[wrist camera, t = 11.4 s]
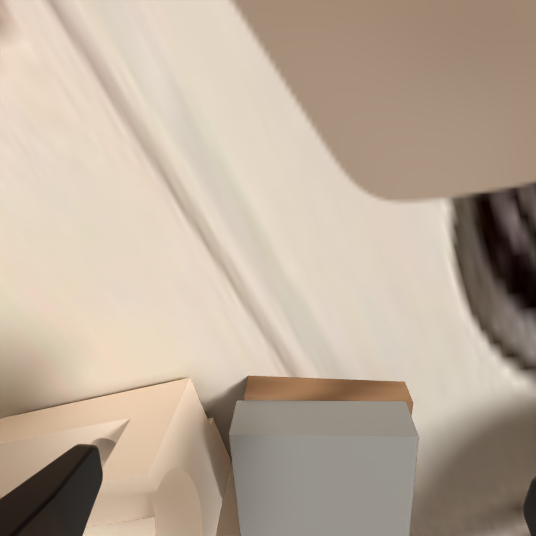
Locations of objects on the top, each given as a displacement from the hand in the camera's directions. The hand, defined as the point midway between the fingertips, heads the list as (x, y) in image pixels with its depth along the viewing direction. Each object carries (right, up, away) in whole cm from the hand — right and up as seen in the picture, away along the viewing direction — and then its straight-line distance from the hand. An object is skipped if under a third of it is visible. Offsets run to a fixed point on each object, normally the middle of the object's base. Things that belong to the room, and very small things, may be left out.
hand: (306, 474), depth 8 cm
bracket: (-10, -6, +18) cm, 22 cm away
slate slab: (+2, -9, +15) cm, 18 cm away
